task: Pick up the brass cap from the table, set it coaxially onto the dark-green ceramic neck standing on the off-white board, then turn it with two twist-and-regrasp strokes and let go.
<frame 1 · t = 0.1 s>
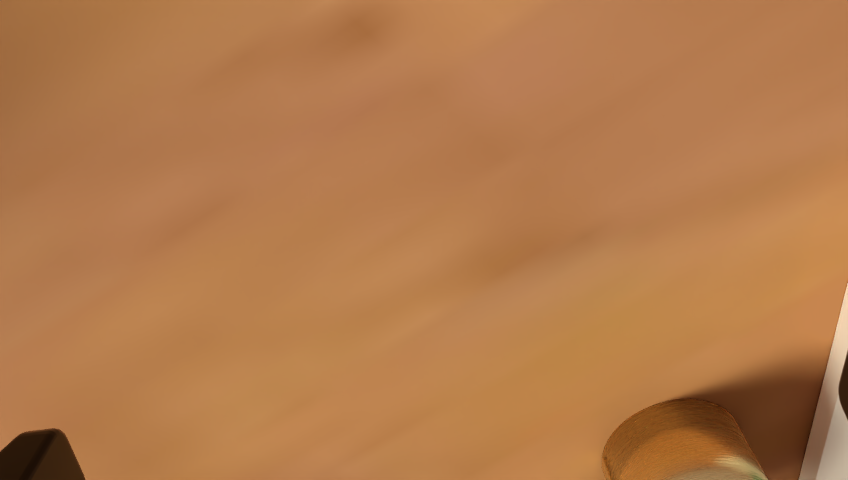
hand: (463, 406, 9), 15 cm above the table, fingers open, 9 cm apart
cap: (670, 449, 32), on the table
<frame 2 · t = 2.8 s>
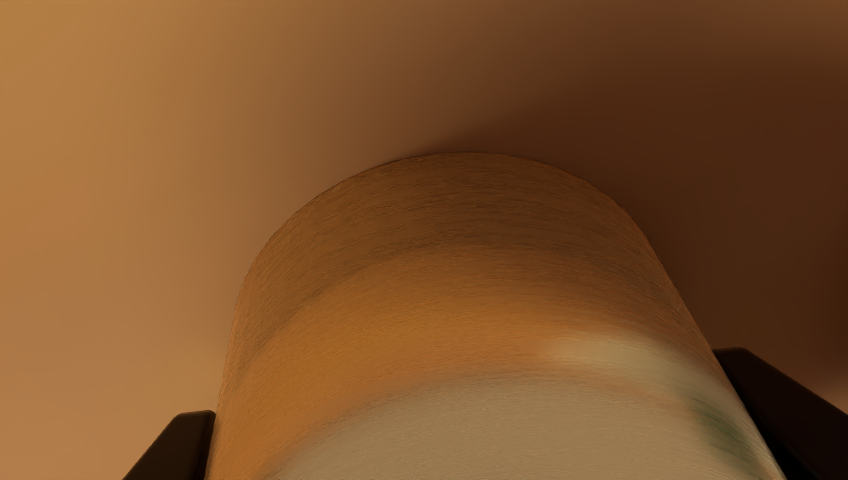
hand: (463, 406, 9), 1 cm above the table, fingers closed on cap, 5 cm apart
cap: (452, 346, 10), on the table, touching gripper
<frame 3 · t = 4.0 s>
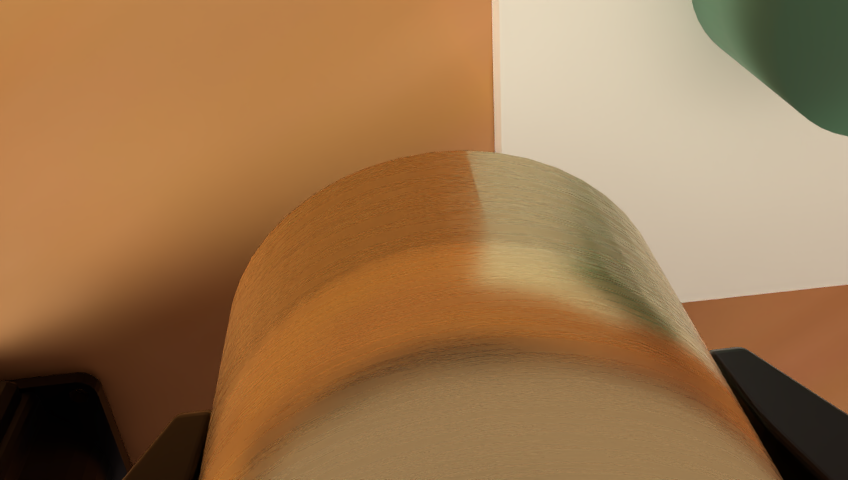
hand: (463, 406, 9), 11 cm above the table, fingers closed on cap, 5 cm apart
cap: (449, 345, 10), point 10 cm above the table, touching gripper
when the fingers open (7 cm above the table, at t = 5.6 s): cap stays where it is, resting on neck block.
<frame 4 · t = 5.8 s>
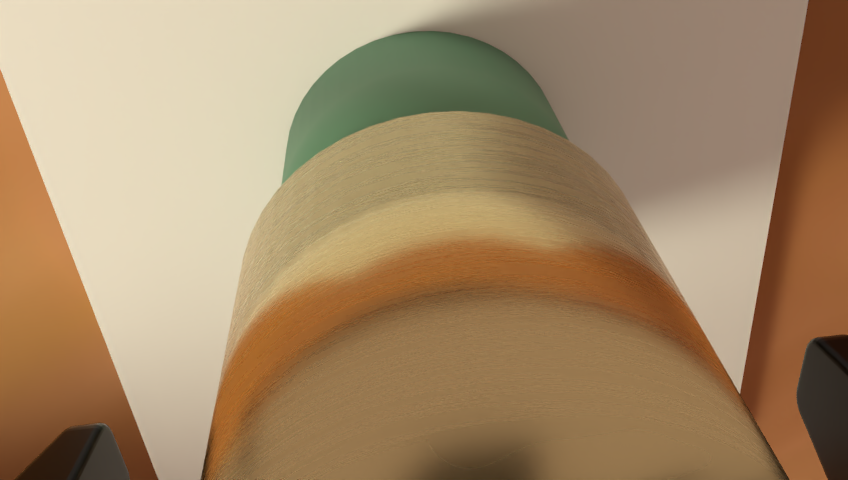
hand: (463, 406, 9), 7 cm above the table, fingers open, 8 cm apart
cap: (444, 297, 11), point 5 cm above the table, touching neck block
neck block: (419, 139, 15), on the table
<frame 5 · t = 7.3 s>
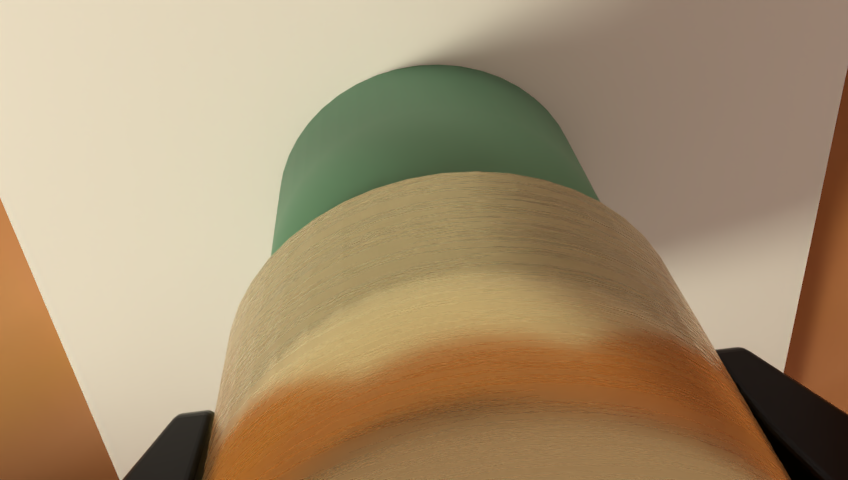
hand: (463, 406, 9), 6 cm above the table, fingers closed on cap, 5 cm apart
cap: (458, 373, 10), point 5 cm above the table, touching gripper, neck block
neck block: (425, 178, 14), on the table
when the fingers open (5 cm above the table, at t = 8.5 s): cap stays where it is, resting on neck block.
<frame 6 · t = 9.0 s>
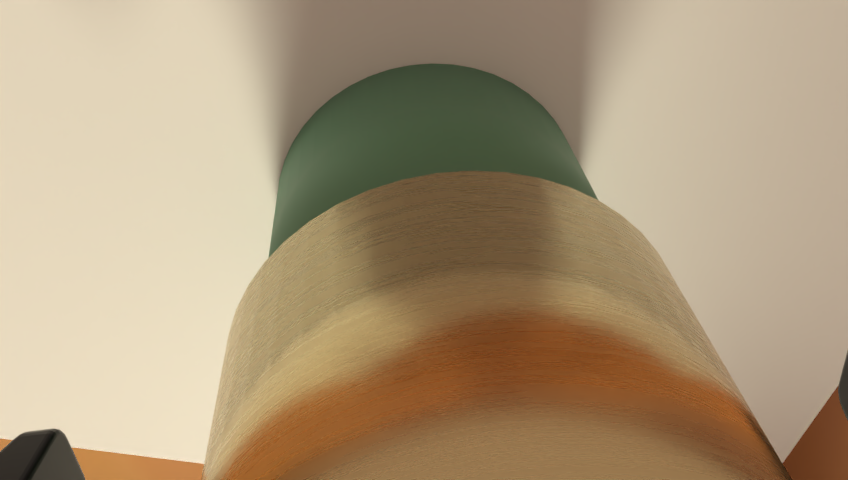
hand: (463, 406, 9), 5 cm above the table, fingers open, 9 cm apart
cap: (457, 372, 10), point 5 cm above the table, touching neck block
neck block: (423, 177, 14), on the table
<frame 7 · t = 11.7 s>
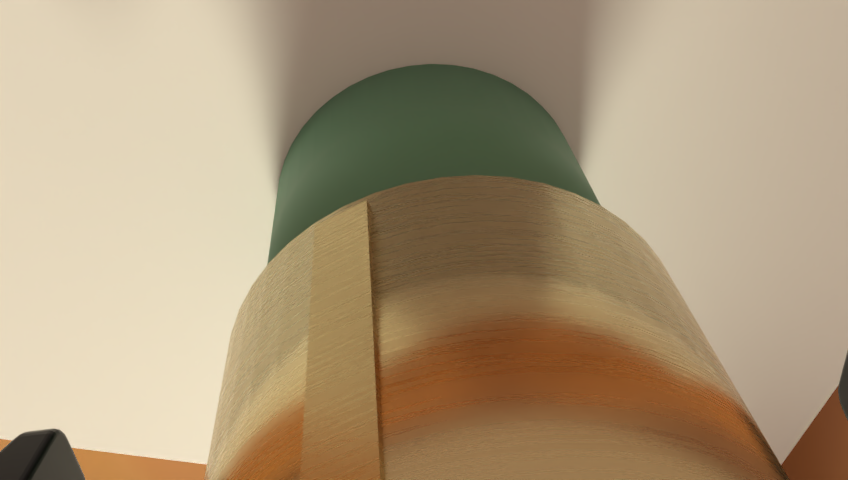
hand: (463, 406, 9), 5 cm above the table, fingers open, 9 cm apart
cap: (458, 376, 10), point 5 cm above the table, touching neck block
neck block: (423, 177, 14), on the table
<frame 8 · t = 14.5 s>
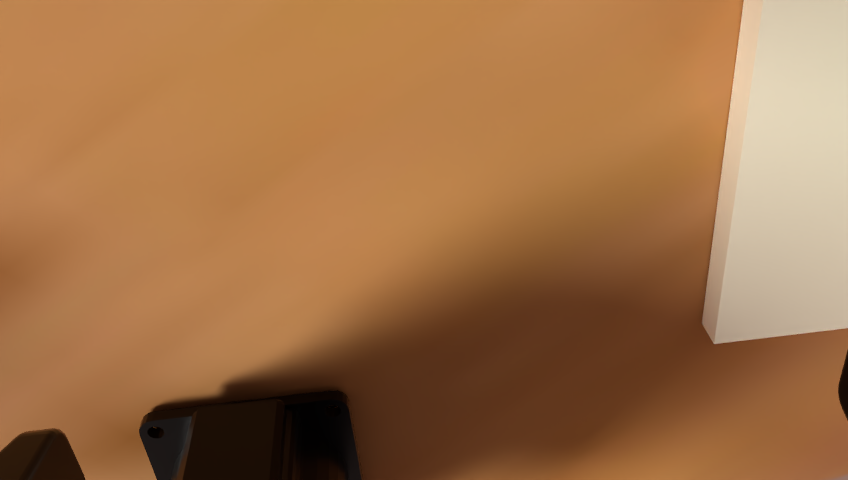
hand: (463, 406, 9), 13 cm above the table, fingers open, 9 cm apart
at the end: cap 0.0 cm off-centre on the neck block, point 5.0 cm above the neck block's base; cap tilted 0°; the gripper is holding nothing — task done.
